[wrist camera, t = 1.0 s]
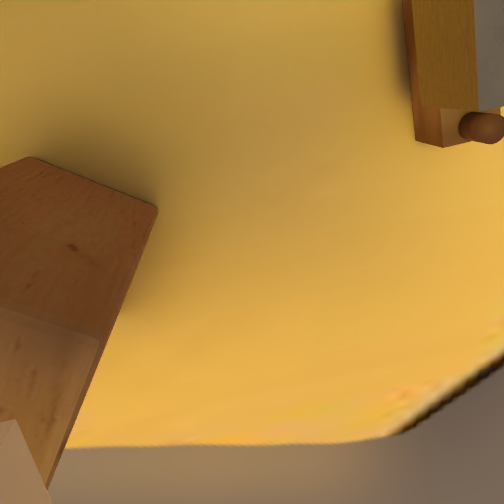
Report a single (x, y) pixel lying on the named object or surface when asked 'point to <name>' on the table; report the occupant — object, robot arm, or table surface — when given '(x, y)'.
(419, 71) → the lever cap
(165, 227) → the table surface
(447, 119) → the plane body
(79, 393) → the wooden block
